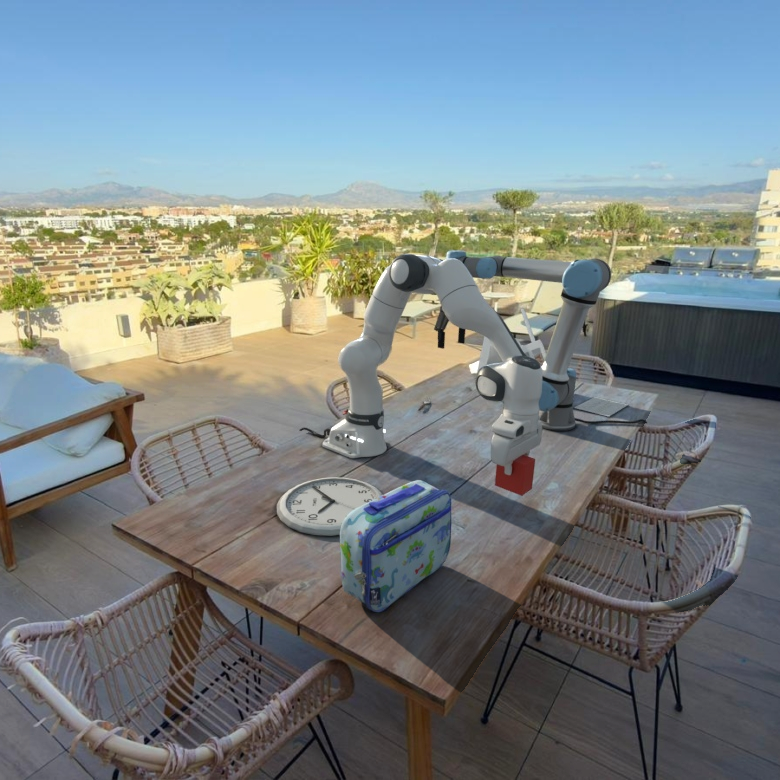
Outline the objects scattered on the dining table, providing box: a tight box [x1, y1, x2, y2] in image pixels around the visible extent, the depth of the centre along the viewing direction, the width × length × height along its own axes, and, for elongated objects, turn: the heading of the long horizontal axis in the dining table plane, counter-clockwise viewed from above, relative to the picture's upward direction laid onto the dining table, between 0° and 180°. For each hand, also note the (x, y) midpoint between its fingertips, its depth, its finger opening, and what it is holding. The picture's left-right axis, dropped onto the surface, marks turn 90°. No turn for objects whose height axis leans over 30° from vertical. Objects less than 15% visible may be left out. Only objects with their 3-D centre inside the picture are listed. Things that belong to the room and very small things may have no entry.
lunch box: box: [339, 479, 452, 613], centre depth 109 cm, size 26×11×21 cm, turn 134°
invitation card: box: [573, 396, 629, 418], centre depth 226 cm, size 21×1×15 cm
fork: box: [418, 396, 432, 411], centre depth 223 cm, size 3×16×2 cm, turn 160°
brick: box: [494, 455, 536, 497], centre depth 137 cm, size 5×8×9 cm
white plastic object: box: [468, 307, 547, 380], centre depth 255 cm, size 37×45×31 cm
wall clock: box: [276, 476, 385, 537], centre depth 142 cm, size 30×2×30 cm
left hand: (515, 469), depth 137 cm, fingers closed on brick, 5 cm apart
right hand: (451, 345), depth 209 cm, fingers open, 13 cm apart
